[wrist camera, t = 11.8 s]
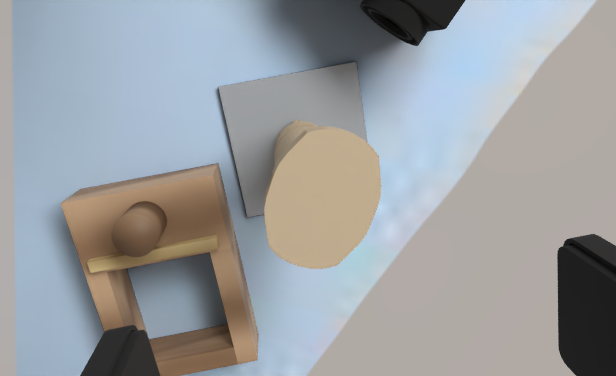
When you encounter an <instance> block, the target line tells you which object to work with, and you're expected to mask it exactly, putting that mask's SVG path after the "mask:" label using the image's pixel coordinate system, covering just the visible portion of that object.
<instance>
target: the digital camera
mask: <svg viewBox="0 0 616 376" xmlns="http://www.w3.org/2000/svg"><path fill="white" fill-rule="evenodd" d="M464 2H465V0H363V1H362V3H361V4H360V7H361V9H362V10H363V11H364V13H365V14H366V15H367V16H369V17H370V18H371V19H372V20H373V21H374V22H375V23H377V24H378V25H379V26H380V27H382V28H383V29H385V30H386V31H388V32H389V33H391V34H392V35H394V36H395V37H397V38H399V39H400V40H402V41H404V42H406V43H409V44H411V45H414V46H418V45H419V43H420V42H421V40H422V39H423V37H424V36H425V34H426V33H427V32H428V31H435V30H443V29H445V28H447V26H448V25H449V23H450V22H451V20H452V19H453V17H454V16H455V15H456V13H457V12H458V10H459V9H460V7H461V6H462V5H463V3H464Z"/></svg>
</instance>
